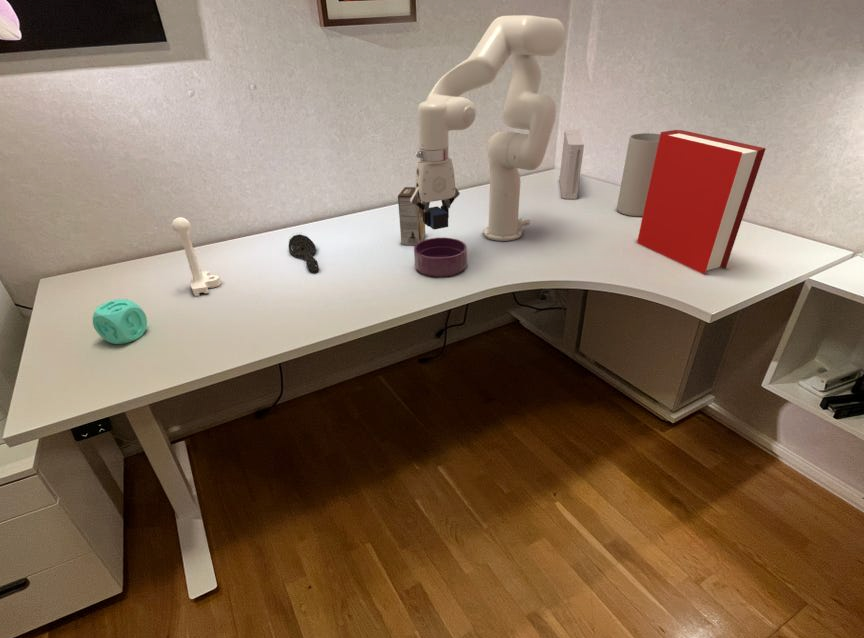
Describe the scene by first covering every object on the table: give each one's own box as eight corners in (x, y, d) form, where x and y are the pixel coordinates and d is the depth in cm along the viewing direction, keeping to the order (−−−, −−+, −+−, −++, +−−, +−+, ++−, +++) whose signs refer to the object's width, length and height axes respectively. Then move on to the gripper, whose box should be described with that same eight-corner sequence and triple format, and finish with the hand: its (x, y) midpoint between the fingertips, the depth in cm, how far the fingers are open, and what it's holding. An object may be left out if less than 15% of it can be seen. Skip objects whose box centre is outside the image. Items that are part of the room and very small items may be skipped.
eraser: (437, 219, 144) (437, 205, 142) (448, 226, 139) (448, 213, 136) (423, 222, 143) (422, 208, 140) (433, 229, 137) (433, 215, 135)
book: (725, 268, 141) (765, 148, 123) (704, 274, 139) (742, 152, 120) (653, 236, 162) (678, 129, 143) (634, 241, 159) (657, 132, 141)
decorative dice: (126, 325, 126) (113, 296, 121) (152, 329, 124) (140, 300, 119) (100, 342, 120) (86, 312, 115) (127, 346, 118) (114, 317, 113)
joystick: (195, 279, 146) (172, 212, 134) (222, 276, 148) (202, 208, 136) (191, 297, 137) (166, 226, 126) (219, 292, 139) (198, 222, 127)
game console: (561, 199, 195) (567, 144, 184) (558, 179, 217) (564, 129, 206) (576, 199, 194) (584, 144, 183) (572, 179, 216) (578, 129, 205)
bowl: (452, 252, 156) (452, 234, 153) (475, 271, 145) (476, 251, 141) (407, 262, 151) (406, 243, 148) (427, 282, 140) (427, 262, 137)
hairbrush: (299, 267, 144) (284, 234, 162) (302, 278, 146) (286, 244, 165) (328, 261, 147) (309, 229, 165) (329, 273, 149) (311, 240, 167)
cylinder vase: (609, 209, 184) (621, 136, 170) (635, 203, 188) (649, 131, 174) (633, 219, 175) (649, 142, 160) (660, 213, 179) (678, 138, 164)
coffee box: (407, 234, 170) (404, 186, 161) (426, 235, 169) (424, 186, 160) (400, 244, 163) (397, 195, 153) (420, 245, 162) (417, 195, 152)
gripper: (409, 162, 124) (413, 232, 135) (469, 153, 130) (468, 222, 140) (398, 155, 130) (402, 224, 141) (456, 147, 135) (456, 214, 146)
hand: (435, 222), depth 140 cm, fingers closed on eraser, 4 cm apart
